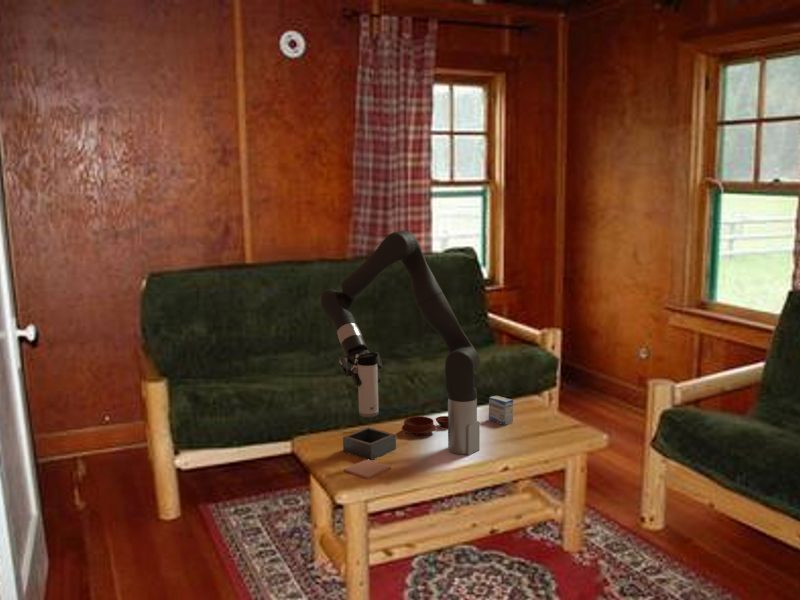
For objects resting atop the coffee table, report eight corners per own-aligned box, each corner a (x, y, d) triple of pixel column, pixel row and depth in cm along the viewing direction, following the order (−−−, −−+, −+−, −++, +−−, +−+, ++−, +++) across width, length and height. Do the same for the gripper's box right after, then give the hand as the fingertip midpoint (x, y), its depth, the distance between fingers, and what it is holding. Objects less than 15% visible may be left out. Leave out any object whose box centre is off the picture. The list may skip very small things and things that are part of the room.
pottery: (395, 431, 250) (395, 419, 249) (442, 421, 260) (442, 409, 259) (414, 441, 240) (413, 429, 239) (462, 430, 250) (462, 417, 249)
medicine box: (488, 420, 259) (488, 397, 258) (496, 417, 262) (496, 394, 261) (505, 425, 254) (505, 402, 252) (513, 422, 257) (513, 399, 255)
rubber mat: (390, 468, 217) (390, 466, 217) (368, 479, 209) (368, 477, 209) (366, 460, 223) (366, 458, 223) (343, 470, 216) (343, 468, 216)
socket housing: (396, 449, 232) (395, 434, 232) (371, 460, 223) (370, 445, 223) (368, 441, 240) (368, 427, 239) (343, 451, 231) (342, 437, 230)
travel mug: (377, 417, 226) (375, 355, 223) (356, 416, 228) (354, 355, 224) (381, 411, 232) (380, 351, 229) (361, 410, 234) (360, 350, 230)
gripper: (334, 336, 229) (352, 380, 221) (374, 331, 237) (393, 373, 228) (328, 349, 235) (345, 393, 227) (367, 344, 242) (385, 386, 234)
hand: (369, 383), depth 227 cm, fingers closed on travel mug, 6 cm apart
